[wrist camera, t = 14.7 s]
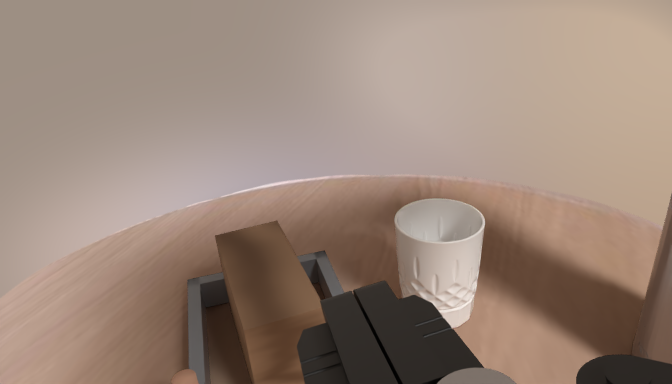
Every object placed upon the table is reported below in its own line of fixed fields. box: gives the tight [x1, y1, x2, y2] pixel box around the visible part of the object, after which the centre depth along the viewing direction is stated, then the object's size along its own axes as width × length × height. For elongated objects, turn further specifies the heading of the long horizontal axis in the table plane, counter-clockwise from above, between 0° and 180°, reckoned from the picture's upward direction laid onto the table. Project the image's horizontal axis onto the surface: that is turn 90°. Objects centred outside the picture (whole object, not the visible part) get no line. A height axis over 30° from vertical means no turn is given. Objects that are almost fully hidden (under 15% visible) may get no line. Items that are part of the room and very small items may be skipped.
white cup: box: [394, 198, 485, 328], centre depth 47 cm, size 8×8×10 cm
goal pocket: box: [171, 251, 344, 384], centre depth 44 cm, size 15×19×8 cm
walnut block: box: [215, 221, 326, 384], centre depth 44 cm, size 6×14×9 cm, turn 20°
